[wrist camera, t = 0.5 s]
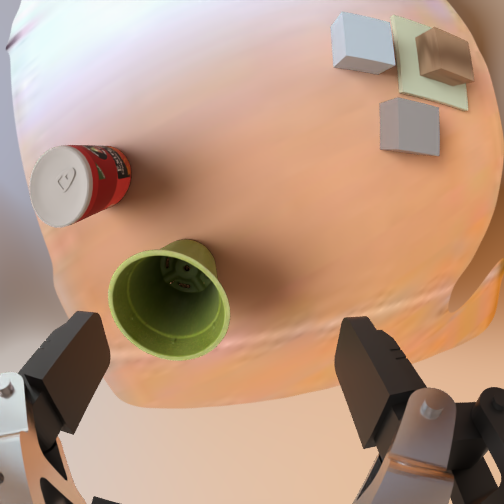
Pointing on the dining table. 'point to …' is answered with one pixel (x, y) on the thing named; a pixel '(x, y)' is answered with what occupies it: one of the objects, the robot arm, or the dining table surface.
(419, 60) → the walnut block
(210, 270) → the plant pot
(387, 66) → the blue block
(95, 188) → the canned food
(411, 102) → the grey block
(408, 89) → the plate
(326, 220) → the dining table surface
